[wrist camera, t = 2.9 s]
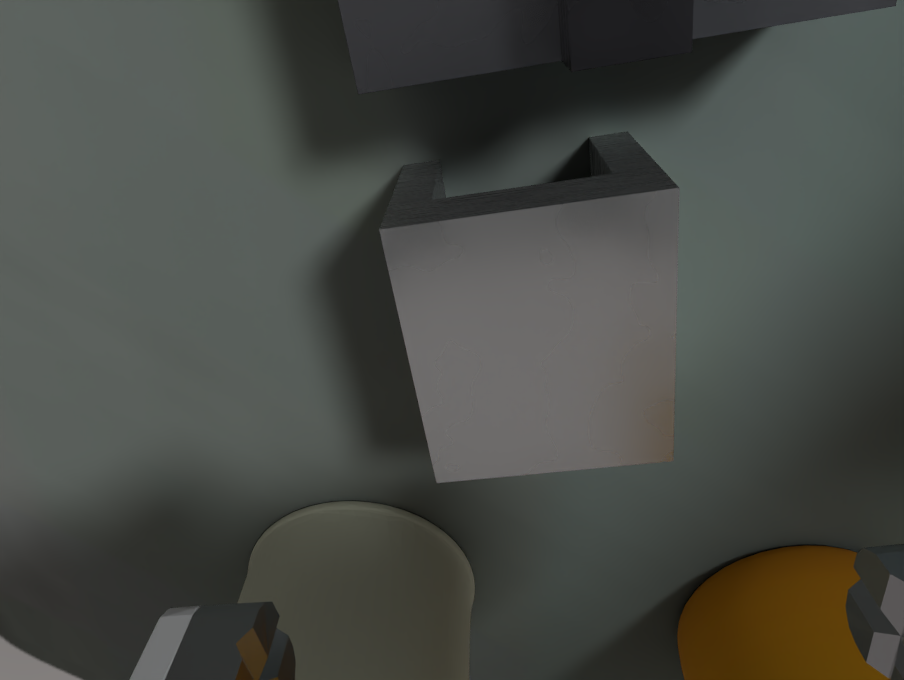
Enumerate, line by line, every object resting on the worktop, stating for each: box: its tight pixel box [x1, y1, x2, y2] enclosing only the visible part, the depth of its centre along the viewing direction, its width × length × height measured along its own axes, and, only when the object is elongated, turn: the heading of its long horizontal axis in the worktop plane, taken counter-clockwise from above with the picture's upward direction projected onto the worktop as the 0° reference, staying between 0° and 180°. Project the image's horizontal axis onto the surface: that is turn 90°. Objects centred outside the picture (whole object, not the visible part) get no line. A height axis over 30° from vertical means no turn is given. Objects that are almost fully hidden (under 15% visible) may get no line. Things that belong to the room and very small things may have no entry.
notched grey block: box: [379, 131, 679, 483], centre depth 17 cm, size 7×6×5 cm
